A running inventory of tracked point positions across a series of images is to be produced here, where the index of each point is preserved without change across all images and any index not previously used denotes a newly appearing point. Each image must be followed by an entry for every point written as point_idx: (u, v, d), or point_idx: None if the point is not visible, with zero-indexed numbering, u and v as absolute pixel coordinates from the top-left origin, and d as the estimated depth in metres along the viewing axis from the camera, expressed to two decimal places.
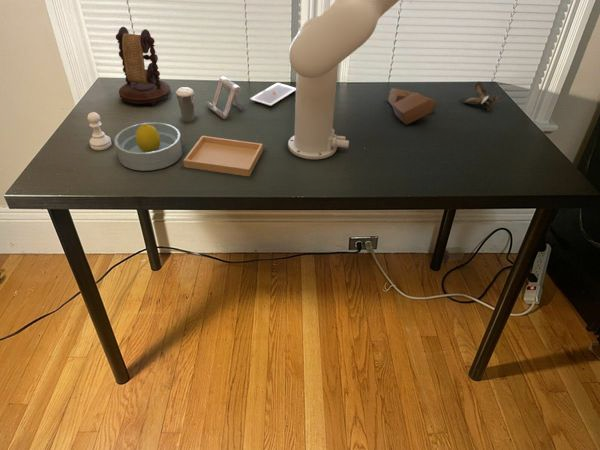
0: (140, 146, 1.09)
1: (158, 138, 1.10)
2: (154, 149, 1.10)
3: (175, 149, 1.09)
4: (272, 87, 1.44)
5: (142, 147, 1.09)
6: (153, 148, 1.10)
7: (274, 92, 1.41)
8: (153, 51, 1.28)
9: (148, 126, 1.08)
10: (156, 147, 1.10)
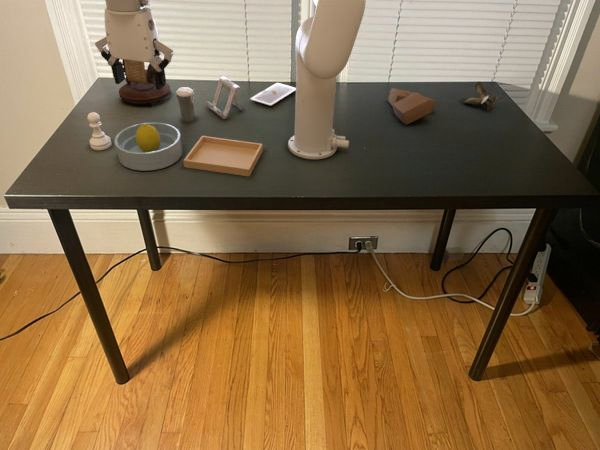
0: (140, 146, 1.09)
1: (158, 138, 1.10)
2: (154, 149, 1.10)
3: (175, 149, 1.09)
4: (272, 87, 1.44)
5: (142, 147, 1.09)
6: (153, 148, 1.10)
7: (274, 92, 1.41)
8: None
9: (148, 126, 1.08)
10: (156, 147, 1.10)
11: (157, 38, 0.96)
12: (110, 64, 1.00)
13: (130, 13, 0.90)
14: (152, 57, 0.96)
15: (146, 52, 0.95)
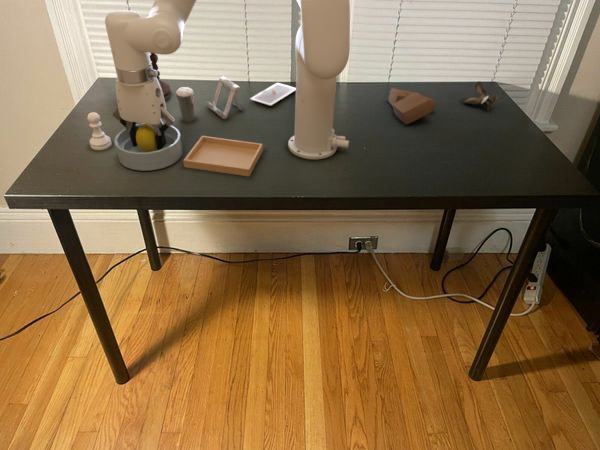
0: (140, 146, 1.09)
1: None
2: (154, 149, 1.10)
3: (175, 149, 1.09)
4: (272, 87, 1.44)
5: (142, 147, 1.09)
6: (154, 148, 1.10)
7: (274, 92, 1.41)
8: None
9: (148, 126, 1.08)
10: (156, 147, 1.10)
11: (163, 103, 1.05)
12: (128, 130, 1.09)
13: (139, 84, 0.98)
14: (159, 120, 1.05)
15: (153, 116, 1.04)
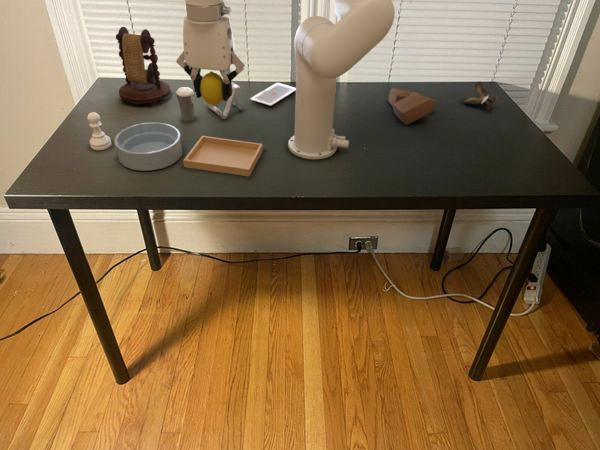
0: (205, 96, 1.01)
1: None
2: (220, 100, 1.02)
3: (175, 149, 1.09)
4: (272, 87, 1.44)
5: (207, 97, 1.00)
6: (219, 99, 1.01)
7: (274, 92, 1.41)
8: (153, 51, 1.28)
9: (214, 74, 1.00)
10: (222, 98, 1.02)
11: (233, 46, 0.96)
12: (193, 78, 1.00)
13: (211, 22, 0.90)
14: (229, 66, 0.96)
15: (223, 60, 0.95)
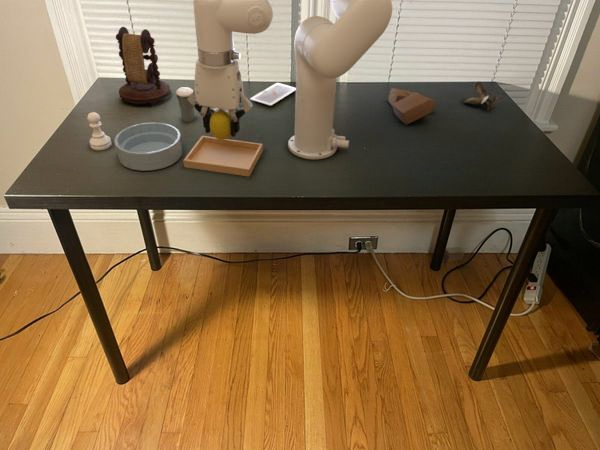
0: (214, 132, 1.06)
1: None
2: (228, 135, 1.07)
3: (175, 149, 1.09)
4: (272, 87, 1.44)
5: (216, 133, 1.06)
6: (227, 135, 1.07)
7: (274, 92, 1.41)
8: (153, 51, 1.28)
9: (223, 111, 1.05)
10: (230, 133, 1.07)
11: (242, 87, 1.02)
12: (202, 115, 1.06)
13: (222, 67, 0.95)
14: (237, 105, 1.02)
15: (232, 101, 1.01)
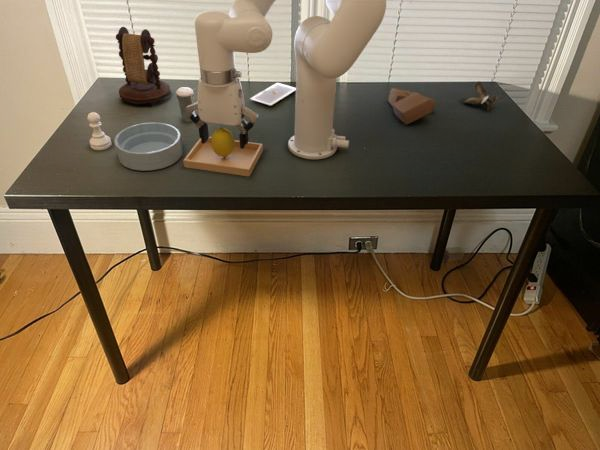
0: (216, 150, 1.09)
1: (233, 141, 1.10)
2: (229, 152, 1.10)
3: (175, 149, 1.09)
4: (272, 87, 1.44)
5: (218, 151, 1.09)
6: (229, 152, 1.10)
7: (274, 92, 1.41)
8: (153, 51, 1.28)
9: (225, 130, 1.08)
10: (231, 150, 1.10)
11: (243, 103, 1.04)
12: (198, 126, 1.08)
13: (224, 85, 0.98)
14: (239, 121, 1.04)
15: (234, 117, 1.03)
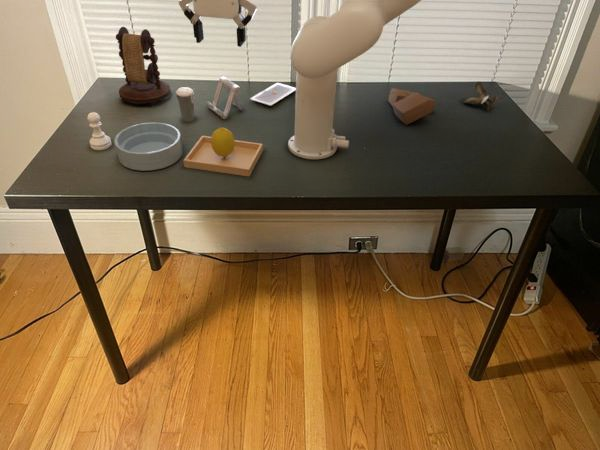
0: (216, 149, 1.09)
1: (233, 141, 1.10)
2: (229, 152, 1.10)
3: (175, 149, 1.09)
4: (272, 87, 1.44)
5: (218, 151, 1.09)
6: (229, 152, 1.10)
7: (274, 92, 1.41)
8: (153, 51, 1.28)
9: (225, 129, 1.08)
10: (231, 150, 1.10)
11: None
12: (192, 22, 1.03)
13: None
14: (237, 13, 0.99)
15: (231, 8, 0.98)
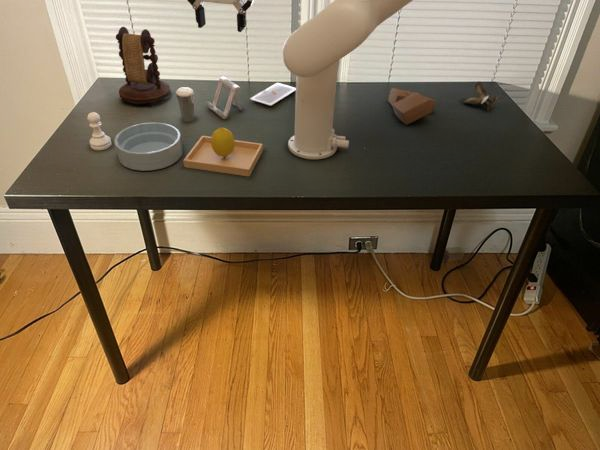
0: (216, 149, 1.09)
1: (233, 141, 1.10)
2: (229, 152, 1.10)
3: (175, 149, 1.09)
4: (272, 87, 1.44)
5: (218, 151, 1.09)
6: (229, 152, 1.10)
7: (274, 92, 1.41)
8: (153, 51, 1.28)
9: (225, 129, 1.08)
10: (231, 150, 1.10)
11: None
12: (194, 8, 1.06)
13: None
14: None
15: None
